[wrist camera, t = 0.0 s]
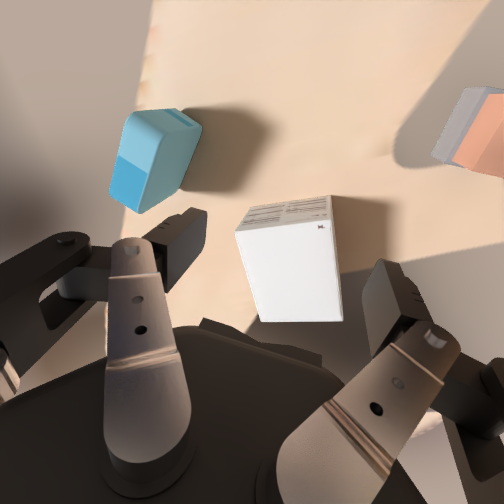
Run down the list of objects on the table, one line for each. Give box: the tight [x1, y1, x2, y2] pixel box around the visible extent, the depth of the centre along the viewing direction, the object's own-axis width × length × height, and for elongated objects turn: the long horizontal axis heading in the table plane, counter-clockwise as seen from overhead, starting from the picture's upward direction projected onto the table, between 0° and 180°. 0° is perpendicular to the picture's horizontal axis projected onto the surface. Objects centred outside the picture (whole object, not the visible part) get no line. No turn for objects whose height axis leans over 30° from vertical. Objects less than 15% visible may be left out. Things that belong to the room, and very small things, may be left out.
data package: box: [109, 108, 202, 214], centre depth 37 cm, size 12×4×12 cm, turn 150°
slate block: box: [430, 86, 504, 168], centre depth 30 cm, size 8×8×5 cm
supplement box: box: [234, 195, 343, 322], centre depth 41 cm, size 17×13×9 cm
